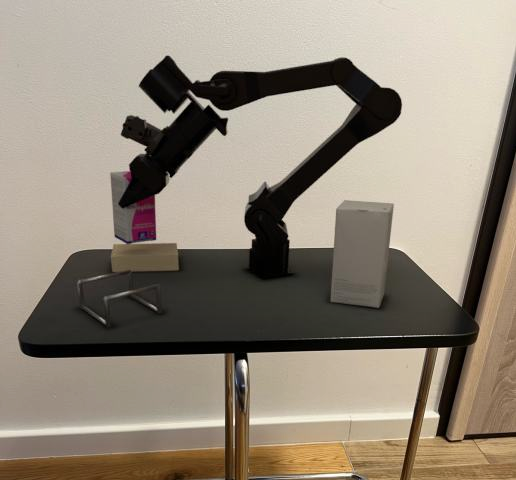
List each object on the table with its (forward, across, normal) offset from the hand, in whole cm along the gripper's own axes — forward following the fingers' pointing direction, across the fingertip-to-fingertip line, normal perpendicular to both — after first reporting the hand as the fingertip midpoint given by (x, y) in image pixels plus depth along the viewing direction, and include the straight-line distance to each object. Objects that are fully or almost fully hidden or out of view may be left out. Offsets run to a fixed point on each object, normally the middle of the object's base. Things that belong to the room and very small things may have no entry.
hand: (125, 201), depth 95 cm
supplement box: (+4, 0, +6) cm, 7 cm away
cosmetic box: (-19, +13, +37) cm, 44 cm away
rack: (+7, +20, +10) cm, 24 cm away
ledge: (+7, -3, +10) cm, 13 cm away
